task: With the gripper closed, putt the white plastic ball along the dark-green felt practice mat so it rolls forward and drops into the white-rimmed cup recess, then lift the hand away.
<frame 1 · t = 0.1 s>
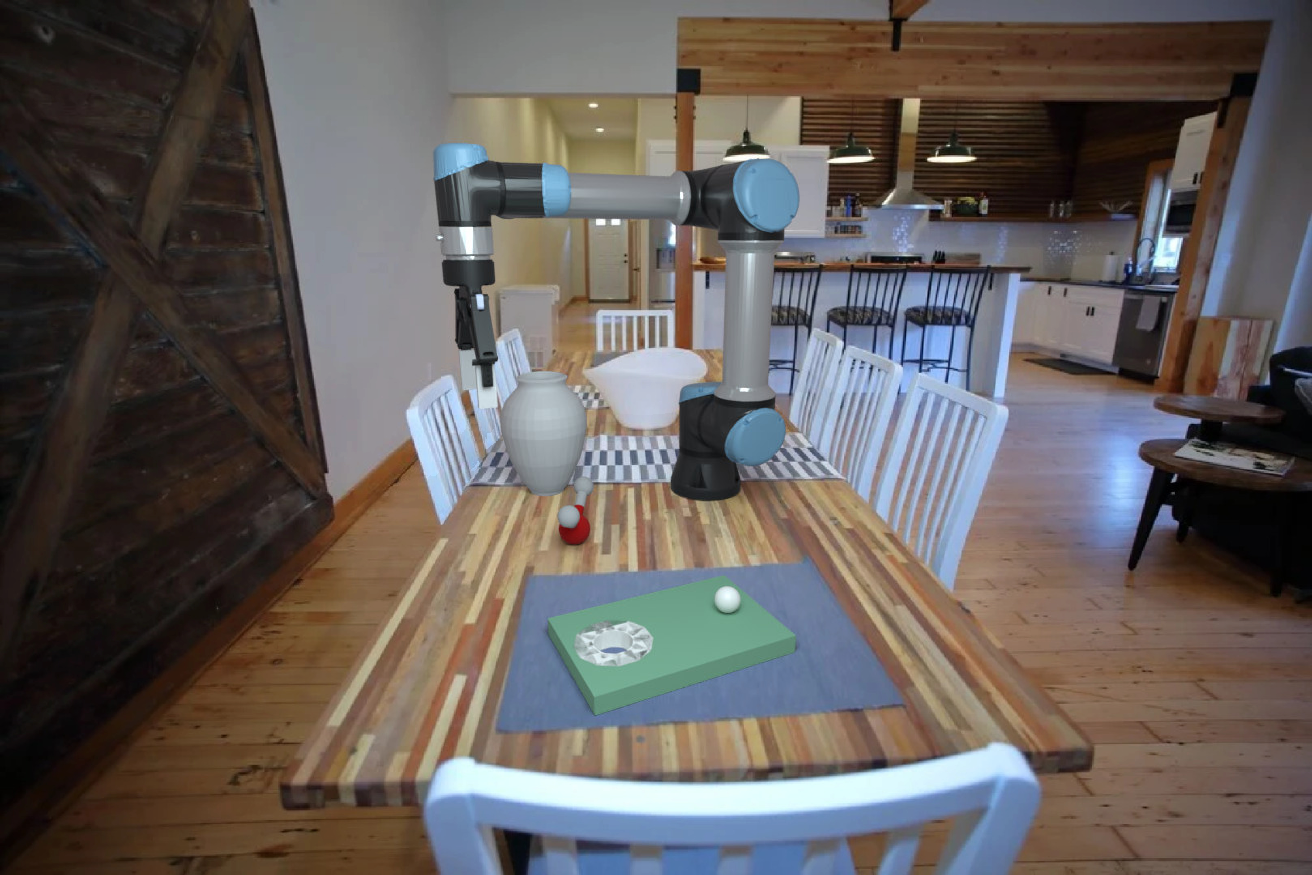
hand: (478, 398, 105), 28 cm above the table, fingers open, 13 cm apart
vase: (547, 490, 144), on the table
putting mat: (669, 642, 90), on the table
molecular model: (575, 543, 119), on the table
ball: (727, 599, 92), point 4 cm above the table, touching putting mat
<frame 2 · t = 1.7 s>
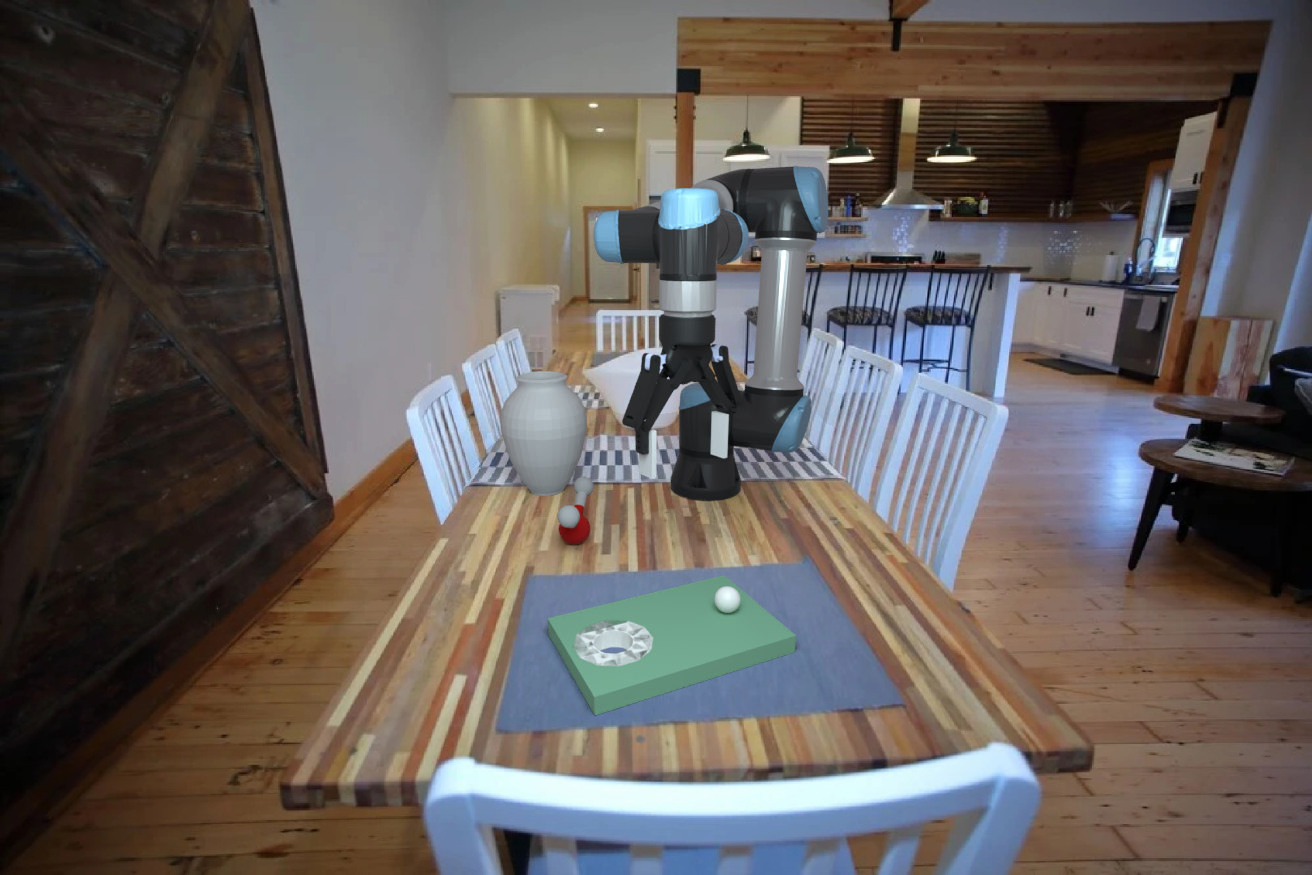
hand: (684, 465, 95), 21 cm above the table, fingers open, 13 cm apart
nothing on the table moved.
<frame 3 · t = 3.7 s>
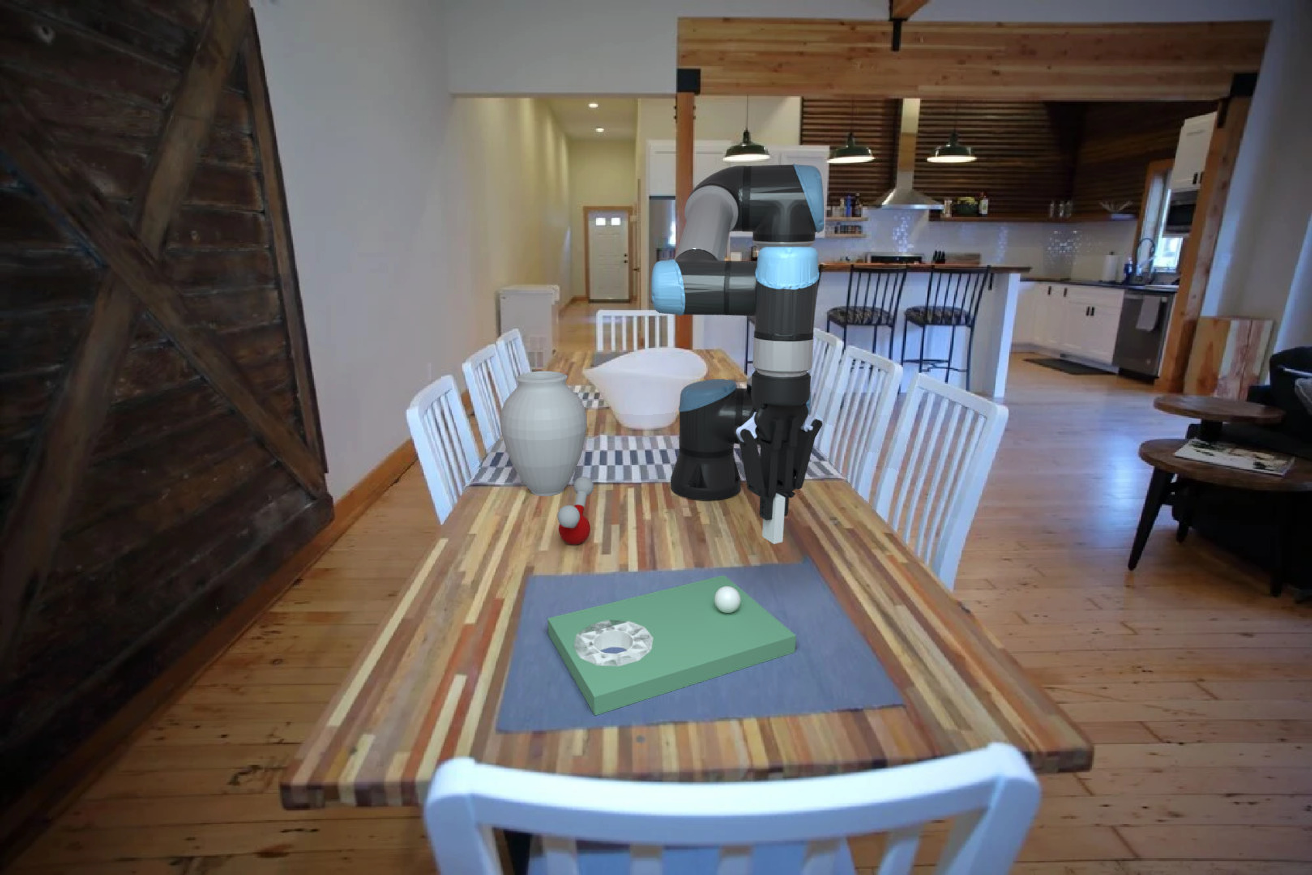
hand: (772, 538, 93), 12 cm above the table, fingers closed
nothing on the table moved.
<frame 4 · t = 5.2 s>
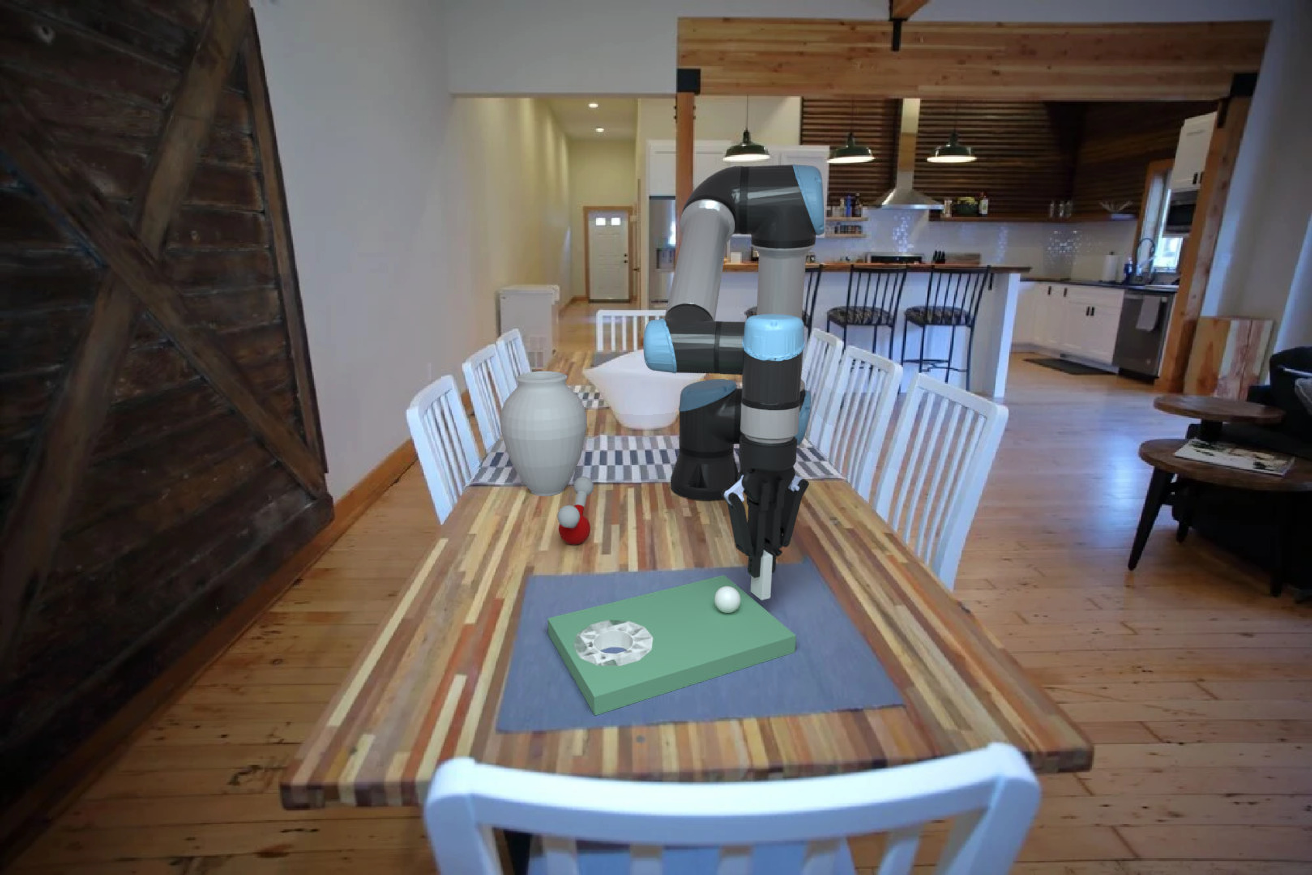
hand: (760, 594, 95), 4 cm above the table, fingers closed
nothing on the table moved.
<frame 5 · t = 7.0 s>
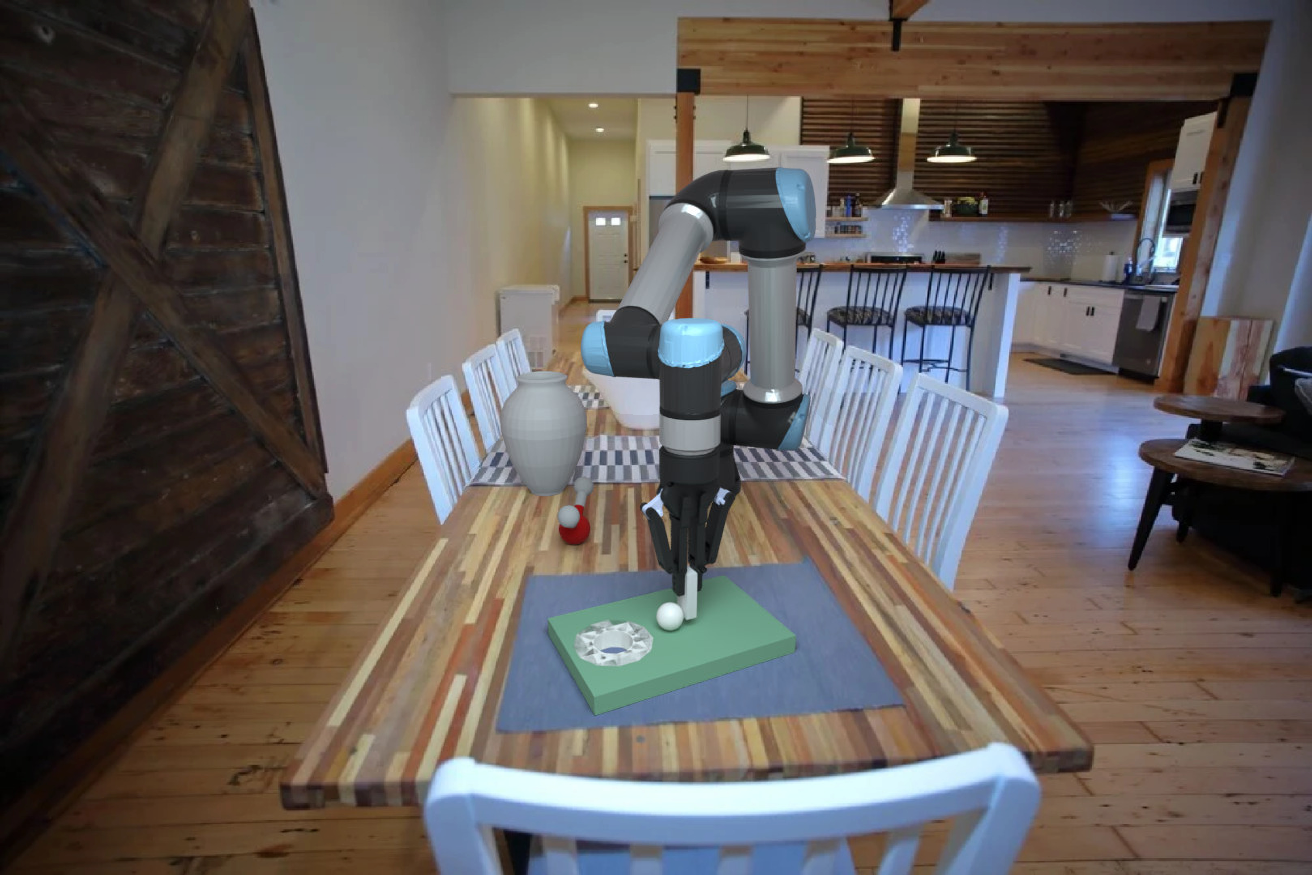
hand: (686, 613, 90), 4 cm above the table, fingers closed
ball: (670, 616, 88), point 4 cm above the table, tilted 73°, touching putting mat
everything else where it was.
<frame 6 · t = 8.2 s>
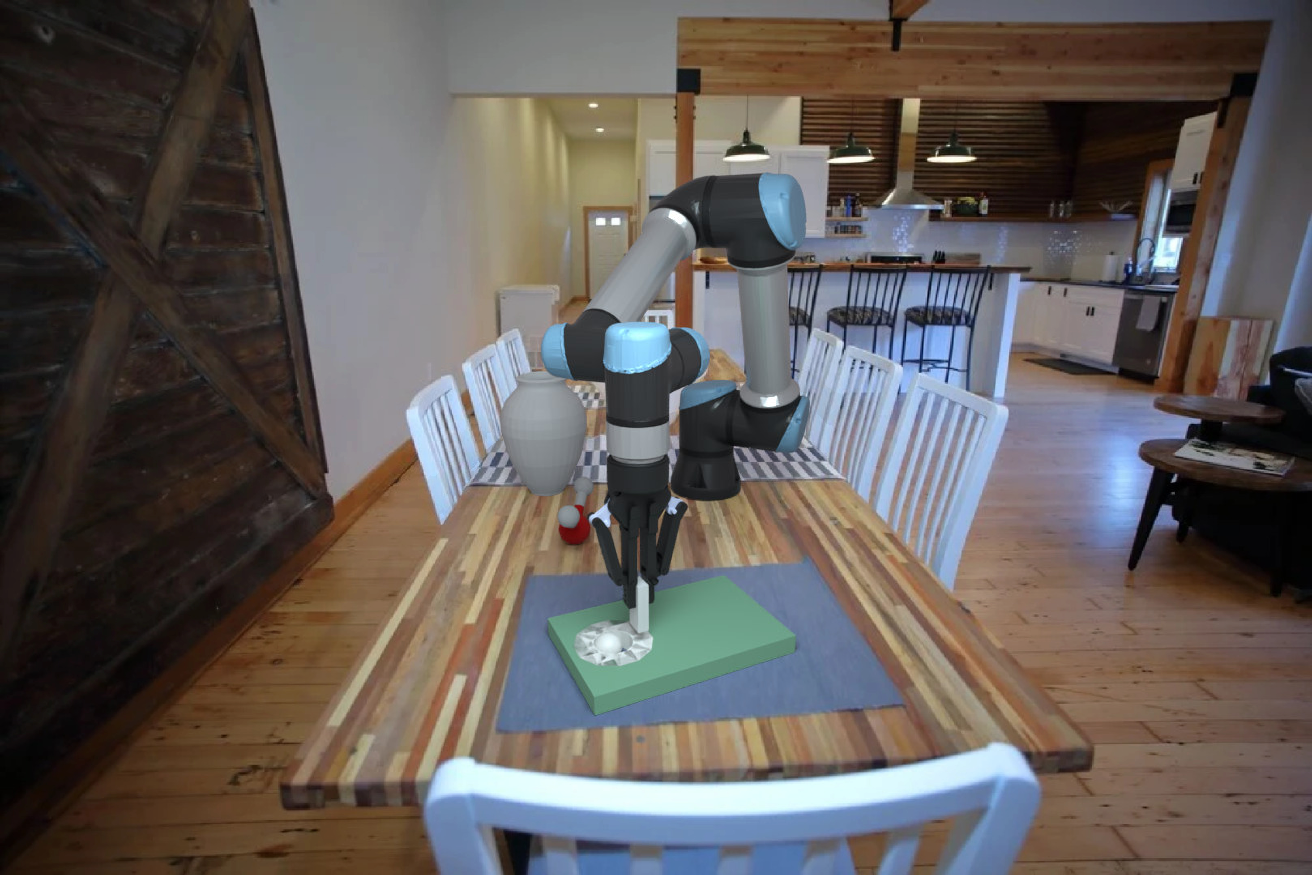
hand: (639, 626, 87), 4 cm above the table, fingers closed
ball: (608, 646, 86), point 2 cm above the table, tilted 123°
everything else where it was.
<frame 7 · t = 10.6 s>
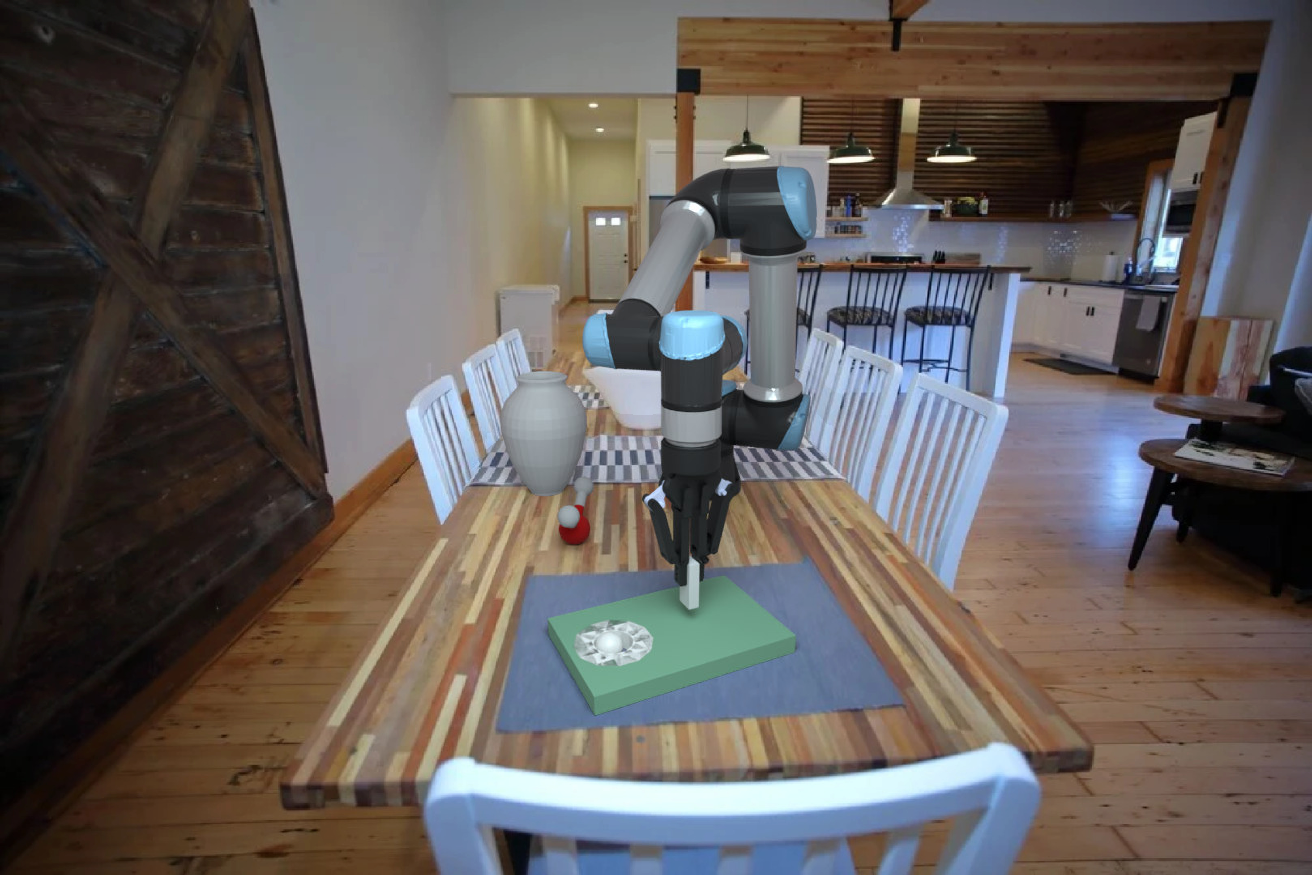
hand: (689, 603, 91), 5 cm above the table, fingers closed
nothing on the table moved.
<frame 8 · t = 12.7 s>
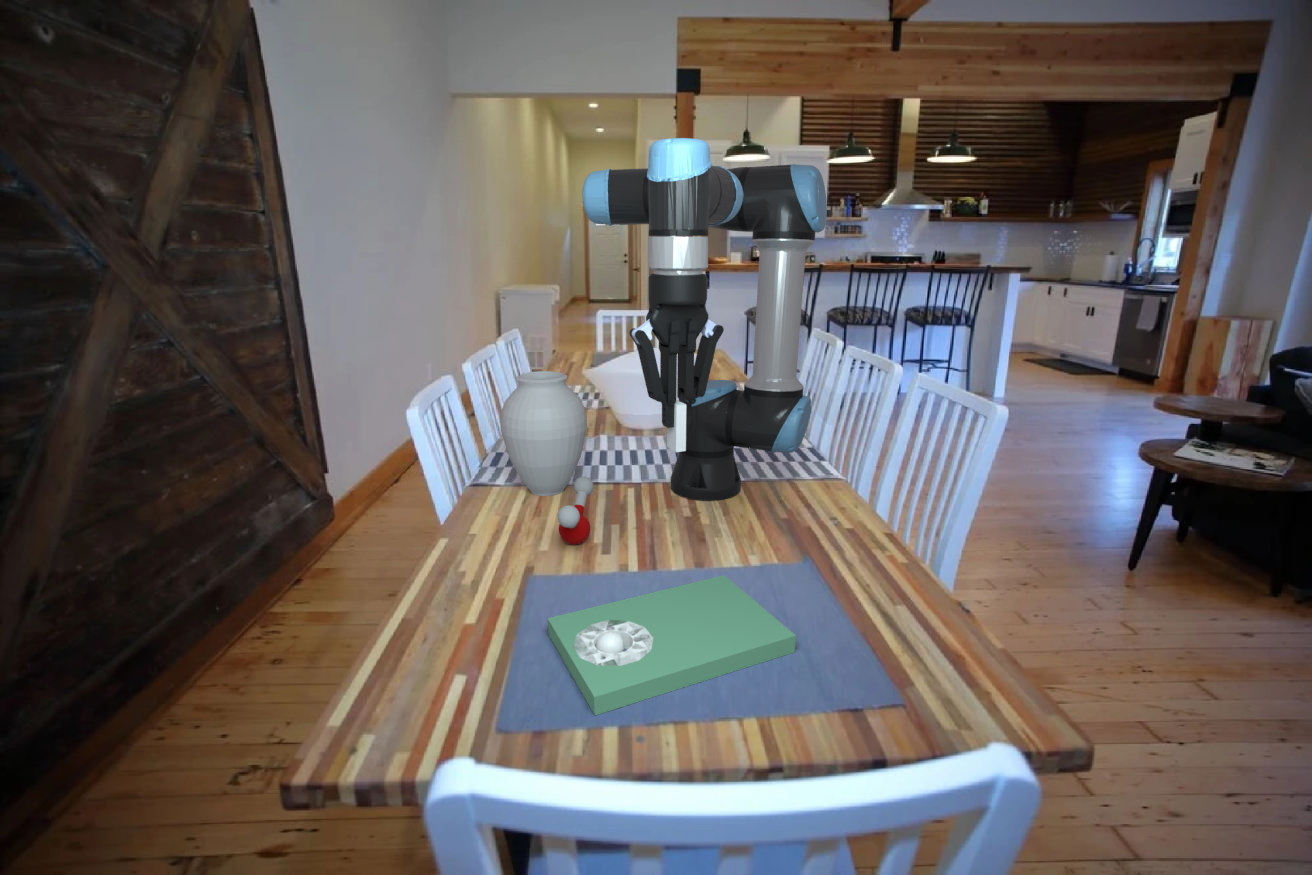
hand: (676, 448, 92), 24 cm above the table, fingers closed
nothing on the table moved.
at the end: ball 0.4 cm from the target spot in the putting mat, point 1.8 cm above the putting mat's base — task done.
